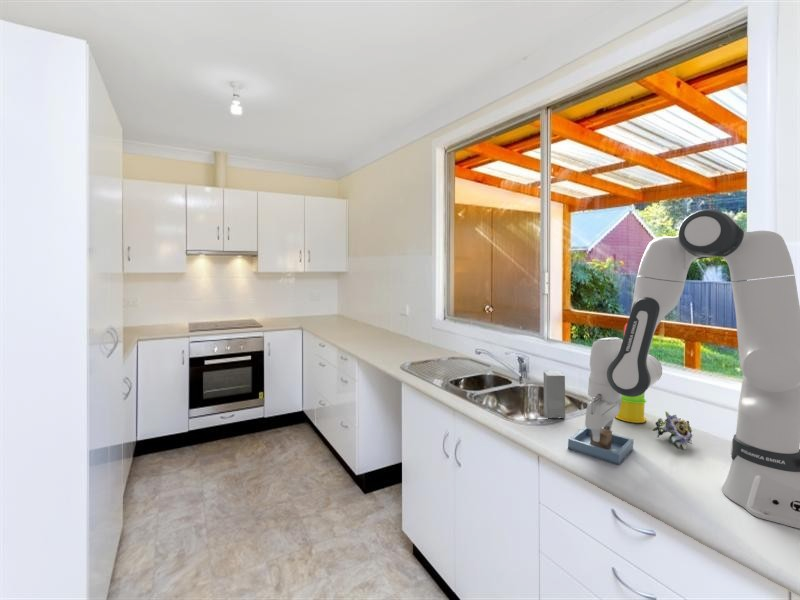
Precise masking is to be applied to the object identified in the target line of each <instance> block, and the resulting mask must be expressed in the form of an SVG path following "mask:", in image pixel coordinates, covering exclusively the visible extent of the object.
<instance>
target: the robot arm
mask: <svg viewBox="0 0 800 600" xmlns="http://www.w3.org/2000/svg"><path fill="white" fill-rule="evenodd" d="M717 257H720V258H722V259H724V261H725V262H726V263H727V266H728V270H729V276H730V282H731V283H730V284H731V289H732V290H731V291H732V297H733V301H734V302H733V303H734V310H735V318H736V321H735V322H736V335H737V337H736V338H737V346H738V349H737V350H738V357H739V365H740V370H741V373H742V380H741V390H740V394H739V400H738V407H737V408H738V409H737V415H736V416H737V417H736V426H735V427H736V428H735V434H734V435H733V437H732V441H731V448H730V449H731V450H730V455H731V456H730V457H731V464H730V467H729V470H728V474H727V477H726V479H725V481H724V483H723V484H722V486H721V491H722V493H723V494H724V495H725V496H726V497H727V498H728V499H729V500H731V501H732V502H733V503H736V504H737V505H739V506H741V507H743V508H744V509H745V510H746V511H747V512H748V513H749V514H751V515H752V516H753V517H757V518H758V519H762V520H766V521H769V522H773V523H778V524H781V525H784V526H788V527H793V528H795V529H799V530H800V300H799V292H798V286H797V280H796V273H795V270H794V268H795V267H794V264H793V259H792V257H791V254H790V251H789V248H788V246H787V244H786V241H785V240H784V237H782V235H780V234H779V233H777V232H774V231H771V230H755V231H744V230H743V229H742V228H741V227H740V226H739V224H738V223H737V221H736V220H735V219H734V217H732V216H731V215H729V214H727V213H726V212H725V213H724V212H722V211H719V210H717V209H701V210H698V211H695V212H693V213H691V214H689V215H688V216H687V217H686V218H684V220H682V222H681V223H680V225H679V228H678V232H677V236H660V237H658V238H654V239H652V240H651V241H650V242H649V243H648V244H647V247H646V249H645V251H644V253H643V255H642V258H641V261H640V263H639V267H638V271H637V276H636V278H635V285H634V291H633V295H632V296H633V297H632V303H631V308H630V309H631V310H630V314H629V317H628V322H627V323H628V324H627V327H626V331H625V334H624V333H623V338H619V337H614V336H613V337H612V336H610V337H602V338H598V339H596V340H594V341H593V343H592V345H591V350H590V356H589V368H590V375H589V377H588V387H587V388H588V390H587V395H588V396H589V397H591V398H592V400H590V401H589V402H588V403H587V405H586V410H585V411H586V412H585V418H584V419H585V421H584V425H585V426H586V428H588V429H591V431H592V434H593V441H596V442H599V441H600V440H601V435H600V430H601V428H603V429H606V430H610V431H612V425H613V422H614V419H615V418H616V416H617V415H618V414H619V412H620V408H621V401H622V395H624V396H628V397H635V396H639V395H641V394H643V393H644V392H645V393H646V391H647V390H648V389H649V388H650V387H652V386H653V385H654V384H656V383H657V382H658V381H659V380H660V379H661V378H662V377H661V376H662V374H663V367H662V363H661V362H660V361H659V359H658V358H657V357H655V356H654V355H653V354H650V351H651V345H652V342H653V339H654V336H655V332H656V329H657V328H658V326H659V324H660V323H661V321H662V320H663V319H664V318H665V317H666V316H667V315H669V314H670V312H671V311H673V310H674V309H676V307H677V304H678V303H679V301H680V299H681V296H682V295H683V292H684V289H685V284H686V281H687V275H688V273H689V269H690V267H691V265H692V263H693V262H694V261H695V260H701V259H702V260H704V259H710V258H717ZM585 426H584V427H585Z"/></svg>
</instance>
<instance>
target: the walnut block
mask: <svg viewBox="0 0 800 600" xmlns="http://www.w3.org/2000/svg"><path fill="white" fill-rule="evenodd" d="M612 434H613V431H612V430H611V431H610V430H606V429H604V427H602V428H601V430H600V435H601V440H600V441H599V442H596V441H593V434H592V431H591V441H590V444H591V445H594V446H597V447H600V448H604V449H607V450H609V449H610V448H611V441H612Z"/></svg>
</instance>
